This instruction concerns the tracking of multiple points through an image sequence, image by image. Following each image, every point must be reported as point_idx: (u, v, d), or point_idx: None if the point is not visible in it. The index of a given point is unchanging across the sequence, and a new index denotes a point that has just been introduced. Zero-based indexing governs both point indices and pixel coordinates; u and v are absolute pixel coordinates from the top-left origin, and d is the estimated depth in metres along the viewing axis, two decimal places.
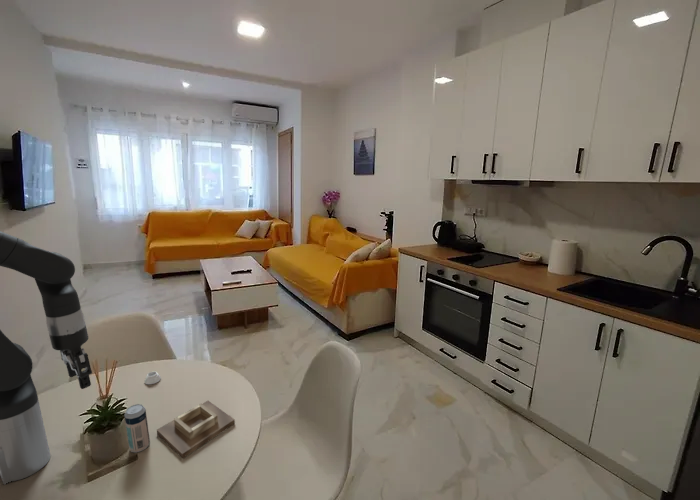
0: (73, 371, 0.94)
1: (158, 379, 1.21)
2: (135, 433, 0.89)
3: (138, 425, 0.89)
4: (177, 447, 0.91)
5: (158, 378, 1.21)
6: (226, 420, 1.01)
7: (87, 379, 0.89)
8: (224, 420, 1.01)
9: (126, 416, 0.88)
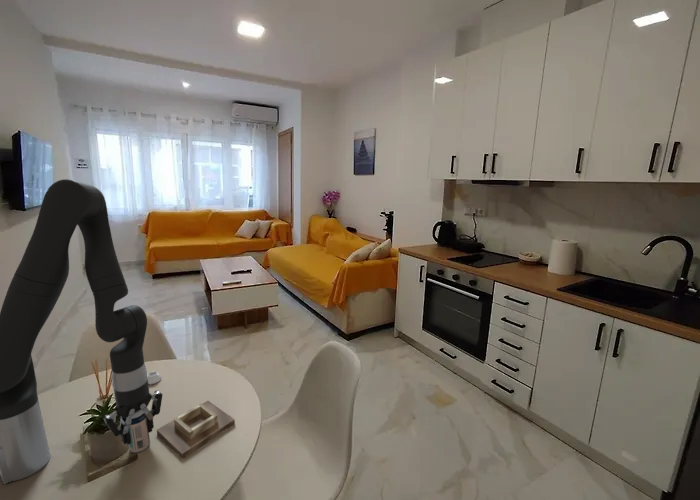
0: None
1: (158, 379, 1.21)
2: (135, 433, 0.89)
3: (138, 425, 0.89)
4: (177, 447, 0.91)
5: (158, 378, 1.21)
6: (226, 420, 1.01)
7: None
8: (224, 420, 1.01)
9: None
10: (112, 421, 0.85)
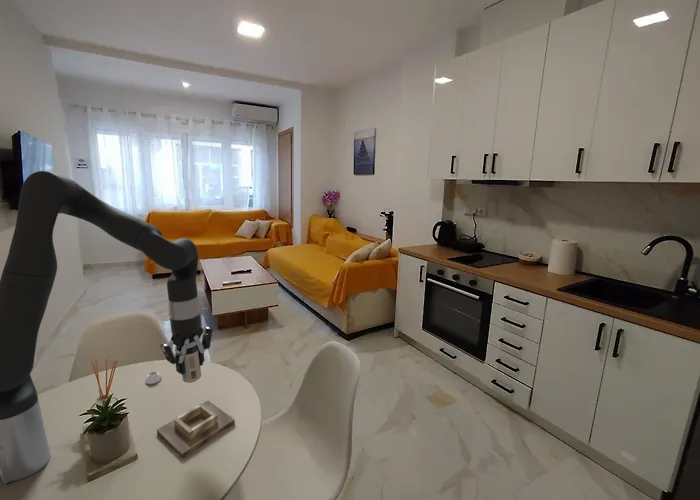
0: None
1: (159, 379, 1.21)
2: (189, 363, 0.92)
3: (192, 356, 0.92)
4: (177, 447, 0.91)
5: (158, 378, 1.21)
6: (226, 420, 1.01)
7: None
8: (224, 420, 1.01)
9: None
10: (169, 349, 0.88)
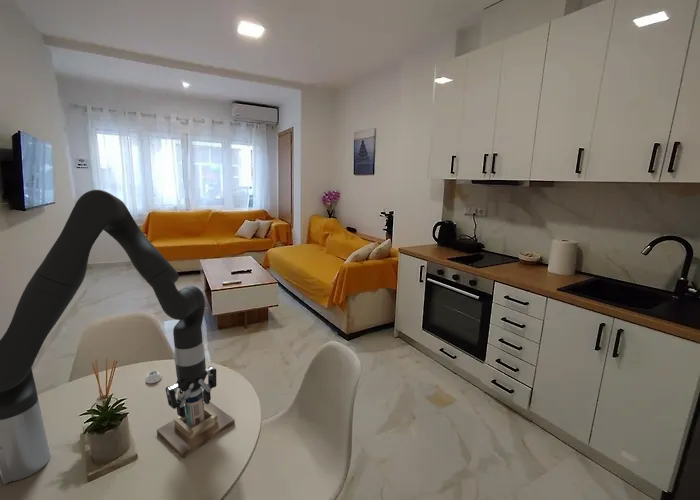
0: None
1: (159, 378, 1.21)
2: (193, 411, 0.96)
3: (197, 404, 0.96)
4: (177, 447, 0.91)
5: (159, 377, 1.21)
6: (226, 420, 1.01)
7: None
8: (224, 420, 1.01)
9: None
10: (174, 393, 0.91)
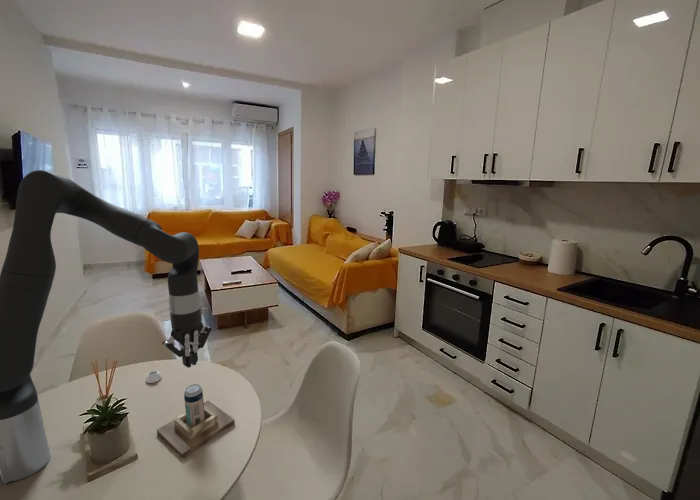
0: None
1: (159, 378, 1.21)
2: (193, 411, 0.96)
3: (197, 403, 0.96)
4: (177, 447, 0.91)
5: (159, 377, 1.21)
6: (226, 420, 1.01)
7: None
8: (224, 420, 1.01)
9: (186, 394, 0.95)
10: (172, 345, 0.88)
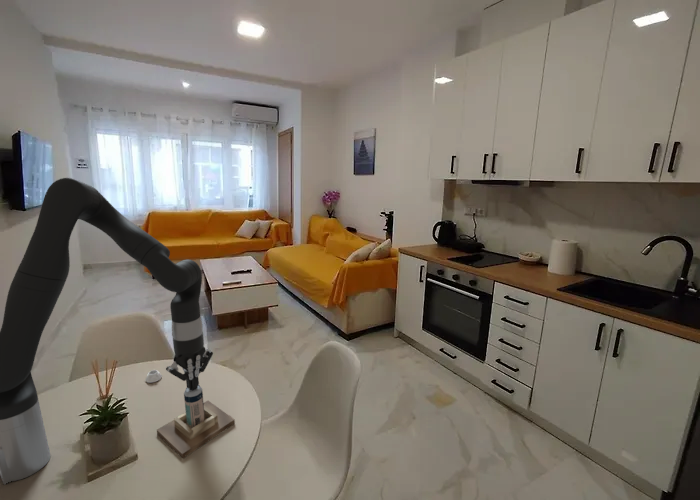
0: None
1: (159, 377, 1.22)
2: (193, 411, 0.96)
3: (197, 403, 0.96)
4: (177, 447, 0.91)
5: (159, 376, 1.22)
6: (226, 420, 1.01)
7: None
8: (224, 420, 1.01)
9: (186, 394, 0.95)
10: (175, 371, 0.90)
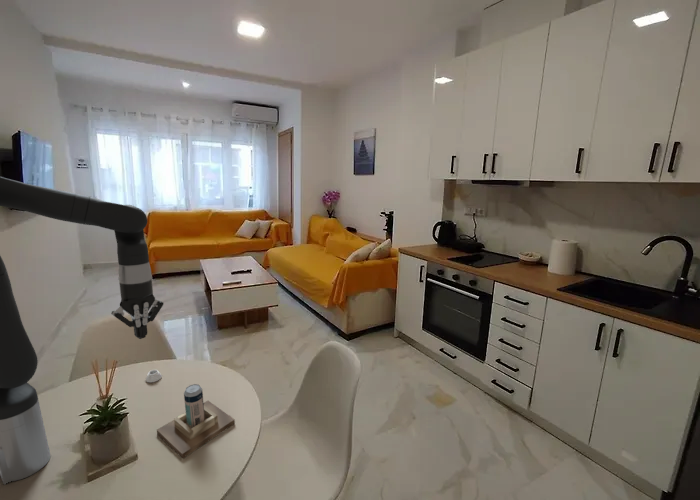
0: None
1: (159, 377, 1.22)
2: (193, 411, 0.96)
3: (197, 403, 0.96)
4: (177, 447, 0.91)
5: (159, 376, 1.22)
6: (226, 420, 1.01)
7: None
8: (224, 420, 1.01)
9: (186, 394, 0.95)
10: (120, 315, 0.90)
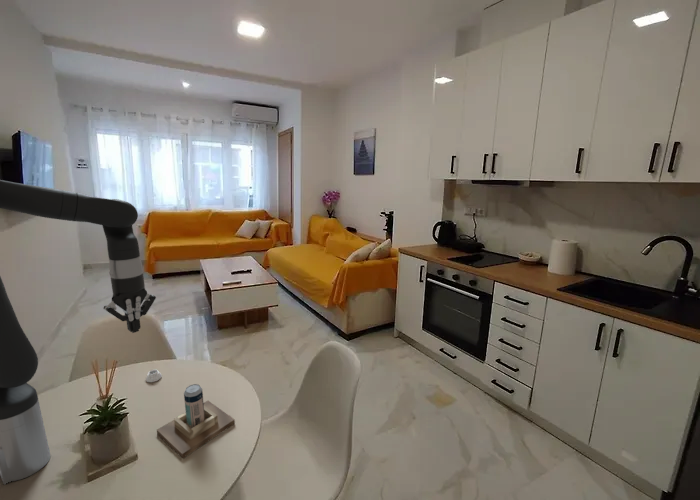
0: None
1: (159, 377, 1.22)
2: (193, 411, 0.96)
3: (197, 403, 0.96)
4: (177, 447, 0.91)
5: (159, 376, 1.22)
6: (226, 420, 1.01)
7: None
8: (224, 420, 1.01)
9: (186, 394, 0.95)
10: (113, 309, 0.90)
